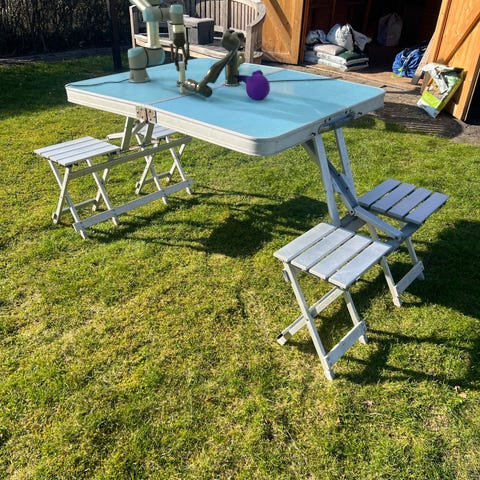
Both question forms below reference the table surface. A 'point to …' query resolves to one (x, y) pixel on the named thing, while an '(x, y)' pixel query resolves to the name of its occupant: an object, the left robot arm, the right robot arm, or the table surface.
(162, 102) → the table surface
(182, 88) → the pale green cylinder
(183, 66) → the lid
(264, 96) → the toy
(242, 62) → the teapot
